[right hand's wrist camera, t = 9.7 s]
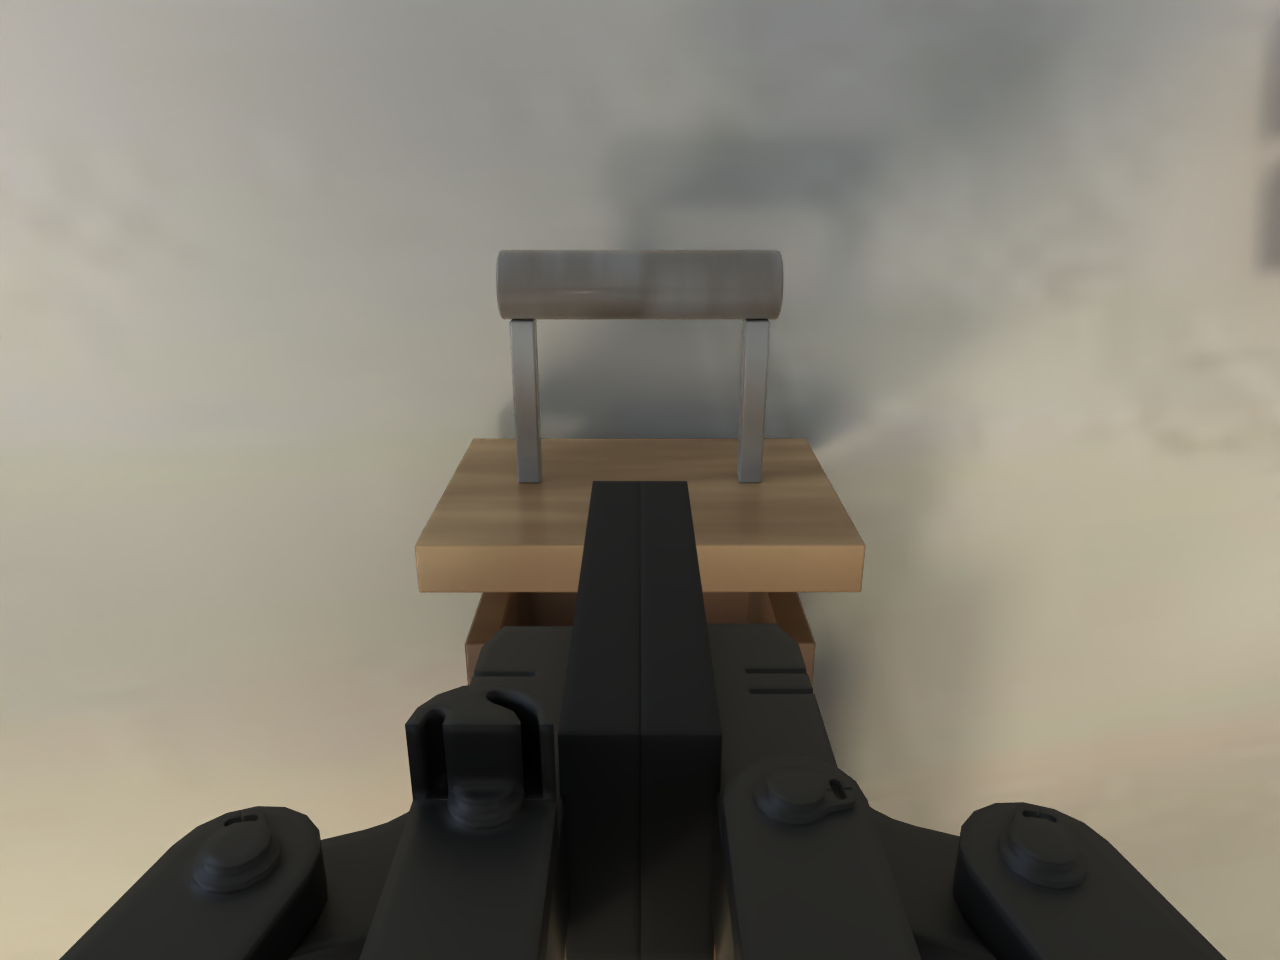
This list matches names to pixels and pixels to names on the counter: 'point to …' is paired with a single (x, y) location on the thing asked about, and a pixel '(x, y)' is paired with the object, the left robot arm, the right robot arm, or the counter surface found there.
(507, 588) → the drawer
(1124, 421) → the counter surface
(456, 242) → the counter surface
